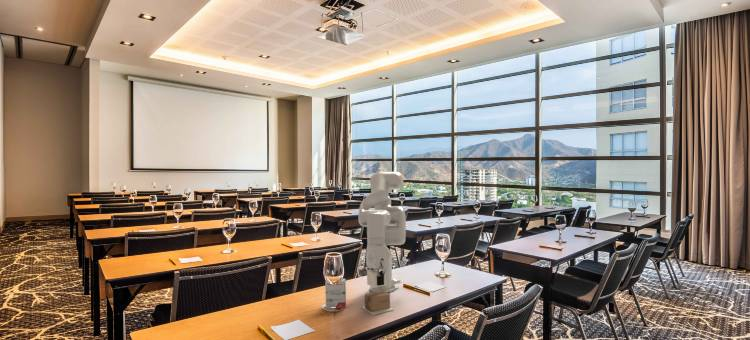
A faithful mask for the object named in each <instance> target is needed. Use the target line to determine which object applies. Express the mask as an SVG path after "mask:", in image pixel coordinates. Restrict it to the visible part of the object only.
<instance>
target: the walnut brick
mask: <svg viewBox="0 0 750 340" xmlns="http://www.w3.org/2000/svg"><path fill="white" fill-rule="evenodd" d="M364 306H365V308H366V309H367V310H369V311H371V312H375V311H379V310H383V309H388V308H391V295H390V292H388V293H387V292H385V291H383V290H381V291H376V292H372V291H371V292H368V293H364Z"/></svg>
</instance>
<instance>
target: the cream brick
mask: <svg viewBox="0 0 750 340" xmlns="http://www.w3.org/2000/svg"><path fill="white" fill-rule="evenodd" d="M379 271H382V270H379ZM377 276H378V274H377V270H375V269H371V270H369V269H368V270H366V278H367V279H366V283H367V286H369V287H370V286H372V287H373V288H375V287H380V286H386V272H385V275H384V285H380V286H378V285H377Z"/></svg>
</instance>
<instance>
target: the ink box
mask: <svg viewBox="0 0 750 340" xmlns="http://www.w3.org/2000/svg"><path fill="white" fill-rule="evenodd" d="M341 279H342V280H341V281H339V282H338V283H337V284H336V285H332V284H330V282H329V281H327V279H326V280H325V282H324V283H325V285H324V286H325V287H324V288H325V309H332V308H331V307H336V308H335V309H346V307H347V288H346V284H347V283H346V280H347V279H346V278H341ZM328 282H329V283H328Z"/></svg>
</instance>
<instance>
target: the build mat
mask: <svg viewBox="0 0 750 340" xmlns="http://www.w3.org/2000/svg"><path fill="white" fill-rule="evenodd" d="M361 308H362V309H363V311H366V312H367V313H369V314H370V315H372V316H375V315H379V314H383V313H388V312H393V311H394V308H391V307H390V308H388V309H383V310H379V311H375V312H371V311H369V310H367V309H366V308H365V305H364V306H363V305H362V306H361Z"/></svg>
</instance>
